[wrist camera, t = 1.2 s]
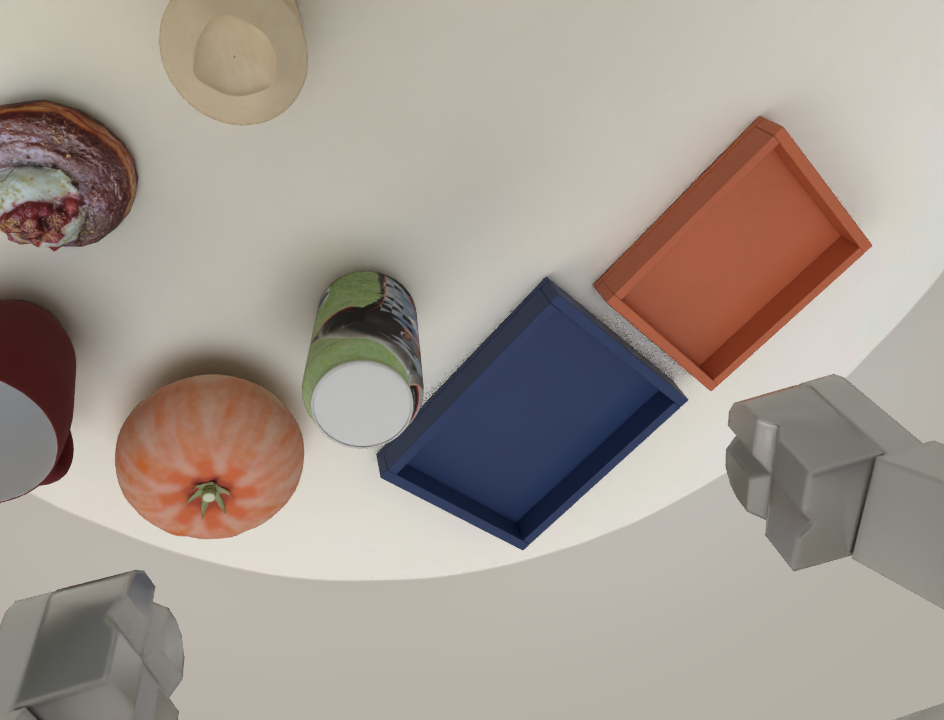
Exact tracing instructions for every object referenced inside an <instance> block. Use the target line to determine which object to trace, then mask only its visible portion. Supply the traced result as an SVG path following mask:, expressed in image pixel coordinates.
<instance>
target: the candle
mask: <svg viewBox="0 0 944 720" xmlns="http://www.w3.org/2000/svg"><path fill="white" fill-rule="evenodd" d="M159 44H160V53H161V58H162V62H163V65H164V68H165V70H166V72H167V75H168V77H169V79H170V81H171V82H172V84H173V85H174V87H175V88H176V90H177V91H178V92H179V93H180V95H181V96H182V97H183V98H184V99H185V100H186V101H187V102H188V103H189V104H190V105H192V106H193V107H194V108H195V109H197V110H198V111H200V112H201V113H203V114H204V115H206V116H208V117H210V118H213V119H215V120H218V121H221V122H224V123H228V124H234V125H253V124H258V123H262V122H265V121H268V120H270V119H273V118H275V117H277V116H278V115H280V114H281V113H283V112H284V111H285V110H286V109H287V108H288V107H289V106H290V105H291V104H292V103H293V102H294V101H295V99H296V98H297V96H298V94H299V93H300V91H301V89H302V86H303V84H304V81H305V77H306V73H307V66H308V54H307V45H306V40H305V36H304V31H303V26H302V21H301V17H300V12H299V9H298V6H297V4H296V1H295V0H171V1H170V3H169V4H168V6H167V8H166V10H165V12H164V15H163V18H162V21H161V26H160V35H159Z"/></svg>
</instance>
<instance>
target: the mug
mask: <svg viewBox="0 0 944 720" xmlns="http://www.w3.org/2000/svg"><path fill="white" fill-rule="evenodd" d="M75 377H76V357H75V352H74V348H73V345H72V343H71V341H70V338H69V337H68V335H67V333H66V331H65V330H64V328H63V327H62V326H61V324H60V323H59V322H58V320H57V319H56V318H55V317H54V316H53V315H52V314H51V313H50V312H49V311H47V310H46V309H44V308H43V307H41V306H39V305H37V304H34V303H31V302H28V301H23V300H0V503H1V502H5V501H9V500H12V499H15V498H18V497H20V496H23V495H25V494H27V493H29V492H30V491H32V490H34V489H35V488H37V487H38V486H41V485H47V484H51V483H53V482H56V481H58V480H60V479H61V478H62V477H63V476H64V475H65V474H66V473H67V472H68V470H69V468H70V466H71V463H72V459H73V451H74V448H73V439H72V435H71V431H70V428H71V423H72V418H73V409H74V394H75Z"/></svg>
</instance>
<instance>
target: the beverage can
mask: <svg viewBox="0 0 944 720" xmlns="http://www.w3.org/2000/svg"><path fill="white" fill-rule="evenodd" d="M423 389H424V386H423V375H422V365H421V355H420V345H419V334H418V324H417V314H416V308H415V305H414V302H413V299H412V297H411V296H410V294H409V292H408V291H407V290H406V289H405V288H404V286H403V285H401V284H400V283H399V282H398V281H396V280H395V279H393V278H391V277H389V276H387V275H384V274H381V273H377V272H372V271H361V272H354V273H351V274H348V275H345V276H343V277H341V278H339V279H338V280H336V281H335V282H334V283H332V284H331V285H330V286H329V287H328V289H327V290H326V291H325V292H324V294H323V296H322V297H321V300H320V303H319V306H318V310H317V315H316V320H315V325H314V329H313V334H312V339H311V344H310V348H309V353H308V358H307V363H306V367H305V372H304V377H303V383H302V397H303V401H304V405H305V408H306V410H307V412H308V414H309V416H310V417H311V418H312V420H313V421H314V422H315V424H316V425H317V426H318V427H319V429H320V430H321V431H322V432H323V433H324V434H325V435H326V436H327V437H328V438H330V439H331V440H333V441H334V442H336V443H338V444H341V445H343V446H347V447H350V448H358V449H368V448H374V447H378V446H381V445H384V444H386V443H388V442H390V441H392V440H394V439H395V438H396V437H398V436H399V435H400V434H401V433H402V432H403V431H404V430H405V428H406V427H407V426H408V425H409V424H410V423H411V422H412V421H413V420H414V418H415V417H416V415H417V413H418V411H419V409H420V407H421V404H422V399H423Z"/></svg>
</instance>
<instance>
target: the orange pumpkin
mask: <svg viewBox="0 0 944 720" xmlns="http://www.w3.org/2000/svg"><path fill="white" fill-rule="evenodd" d="M303 461H304V444H303V438H302V434H301V431H300V429H299V426H298V424H297V422H296V420H295V419H294V417H293V416H292V414H291V413H290V412H289V410H288V409H287V407H286V406H285V405H284V404H283V403H282V402H281V401H280V400H279V399H278V398H277V397H276V396H275V395H274V394H273V393H271V392H270V391H268V390H266V389H265V388H263V387H261V386H259V385H257V384H255V383H252V382H250V381H247V380H244V379H241V378H237V377H233V376H227V375H218V374H208V375H198V376H192V377H188V378H184V379H180V380H178V381H175V382H173V383H170V384H168V385H166V386H164V387H162V388H160V389H158V390H156V391H155V392H153V393H151V394H150V395H149V396H147V397H146V398H145V399H144V400H143V401H141V402H140V403H139V404H138V405H137V407H136V408H135V409H134V410H133V411H132V412H131V414H130V415H129V416H128V418H127V419H126V421H125V422H124V424H123V426H122V428H121V430H120V432H119V435H118V439H117V444H116V452H115V466H116V473H117V477H118V482H119V485H120V487H121V490H122V492H123V495H124V497H125V498H126V499H127V501H128V502H129V503H130V504H131V505H132V506H133V508H134V509H135V510H136V511H137V512H138V513H139V514H140V515H141V516H142V517H143V518H144V519H146V520H147V521H149V522H150V523H152V524H153V525H155V526H157V527H158V528H160V529H162V530H164V531H166V532H168V533H170V534H173V535H177V536H188V537H193V538H198V539H219V538H228V537H233V536H236V535H238V534H240V533H243V532H245V531H247V530H250V529H253V528H255V527H257V526H259V525H261V524H263V523H264V522H266V521H267V520H269V519H270V518H271V517H272V516H274V515H275V514H276V513H277V512H278V511H279V510H280V509H281V508H283V507H284V505H285V504H286V503H287V502H288V501H289V499H290V498H291V496H292V495H293V493H294V492H295V490H296V487H297V485H298V483H299V480H300V476H301V473H302V469H303Z"/></svg>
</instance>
